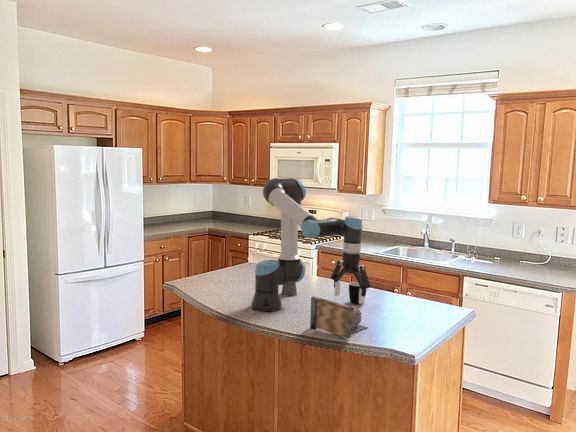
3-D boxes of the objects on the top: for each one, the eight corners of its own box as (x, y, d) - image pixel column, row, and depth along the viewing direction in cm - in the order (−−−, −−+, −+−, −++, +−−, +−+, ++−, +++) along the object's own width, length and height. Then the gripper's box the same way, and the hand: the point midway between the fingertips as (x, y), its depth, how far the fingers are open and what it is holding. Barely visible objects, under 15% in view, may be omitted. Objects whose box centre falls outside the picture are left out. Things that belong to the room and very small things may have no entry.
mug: (358, 306, 240) (359, 287, 239) (344, 302, 246) (345, 283, 245) (372, 302, 248) (373, 283, 247) (358, 298, 255) (359, 280, 254)
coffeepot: (281, 297, 253) (282, 264, 251) (275, 292, 261) (275, 261, 259) (307, 295, 259) (308, 263, 257) (300, 290, 267) (300, 259, 265)
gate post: (308, 328, 206) (309, 297, 204) (313, 326, 208) (314, 296, 206) (313, 329, 203) (314, 298, 202) (318, 328, 206) (319, 297, 204)
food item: (346, 321, 214) (346, 300, 213) (362, 325, 210) (363, 304, 209) (332, 330, 202) (333, 308, 201) (349, 334, 198) (350, 311, 197)
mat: (326, 329, 205) (326, 328, 205) (348, 321, 215) (348, 320, 215) (345, 336, 197) (345, 335, 197) (367, 328, 208) (367, 327, 207)
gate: (315, 327, 203) (316, 298, 202) (319, 326, 205) (320, 297, 203) (347, 338, 192) (348, 307, 190) (350, 337, 193) (351, 306, 192)
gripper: (324, 248, 209) (322, 293, 212) (369, 258, 192) (366, 308, 194) (335, 246, 215) (332, 291, 217) (380, 256, 197) (377, 304, 199)
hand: (348, 299), depth 206 cm, fingers open, 13 cm apart
